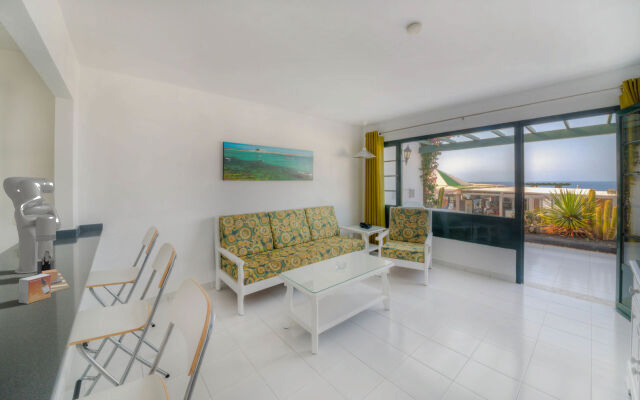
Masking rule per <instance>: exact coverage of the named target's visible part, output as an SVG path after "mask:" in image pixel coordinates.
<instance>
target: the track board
mask: <svg viewBox="0 0 640 400" xmlns="http://www.w3.org/2000/svg"><path fill="white" fill-rule="evenodd" d="M57 274H58V275H59V277H60V279H61V280H62V282H60V283H55V284H51V293H54V292H60V291H64V290H69V289H70V285H69V284H68V283H67V281H66V279H65V278H64V277H63V275H62V274H61V272H60V271H57ZM31 276H32V275H30V276H29V277H31Z"/></svg>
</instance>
